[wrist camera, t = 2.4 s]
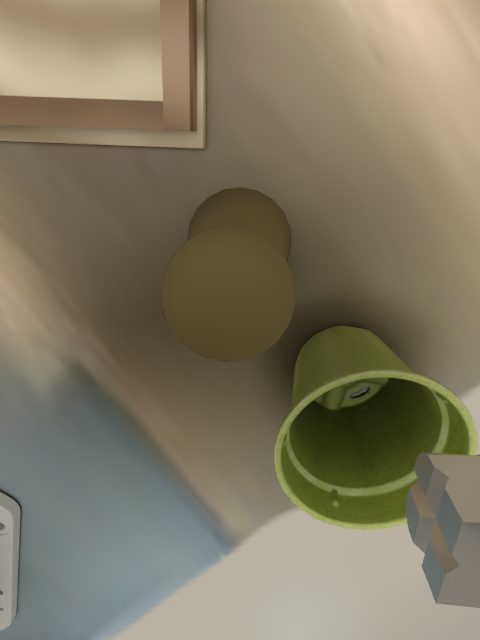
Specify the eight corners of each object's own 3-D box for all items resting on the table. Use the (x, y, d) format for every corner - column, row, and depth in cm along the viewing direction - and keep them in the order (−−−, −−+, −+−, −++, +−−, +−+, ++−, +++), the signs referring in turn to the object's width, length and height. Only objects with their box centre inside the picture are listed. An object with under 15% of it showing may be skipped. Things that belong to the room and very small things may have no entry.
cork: (167, 227, 25) (104, 289, 15) (253, 165, 24) (248, 189, 14) (226, 307, 27) (206, 411, 17) (310, 255, 26) (343, 335, 16)
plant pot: (443, 380, 29) (513, 476, 21) (322, 448, 31) (343, 556, 23) (366, 269, 26) (414, 331, 18) (241, 354, 28) (233, 441, 20)
